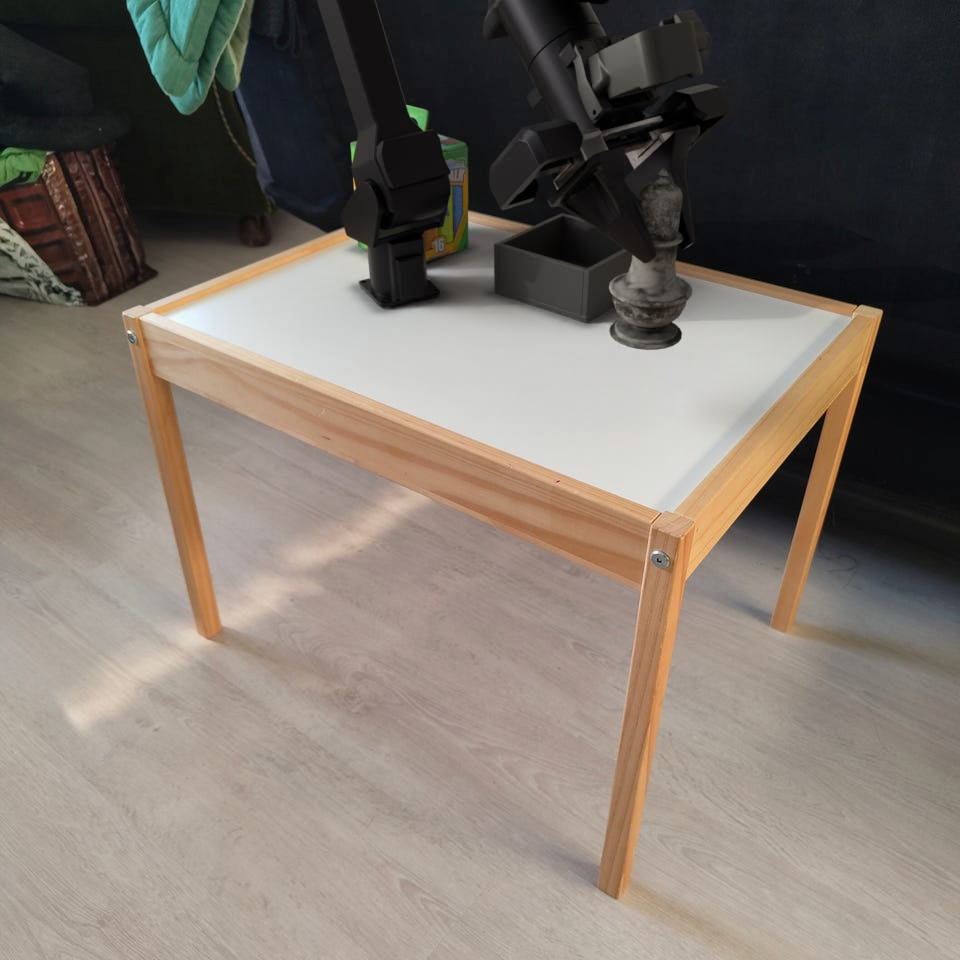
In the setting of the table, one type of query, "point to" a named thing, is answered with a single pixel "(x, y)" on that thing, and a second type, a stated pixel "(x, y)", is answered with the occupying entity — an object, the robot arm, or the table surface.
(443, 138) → the chalk box
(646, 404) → the table surface
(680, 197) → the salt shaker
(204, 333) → the table surface
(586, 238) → the basket
